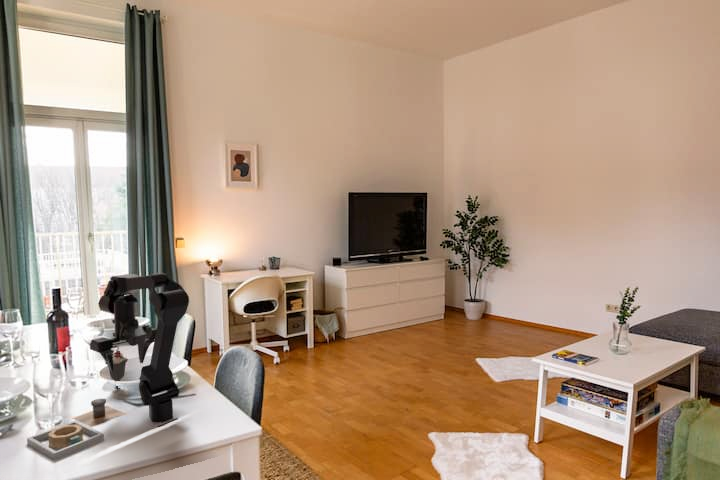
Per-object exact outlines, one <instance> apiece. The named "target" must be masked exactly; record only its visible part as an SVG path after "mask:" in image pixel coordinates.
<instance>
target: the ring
mask: <svg viewBox="0 0 720 480" xmlns="http://www.w3.org/2000/svg"><path fill="white" fill-rule="evenodd" d="M64 425H65V424H64ZM61 426H62V425H61ZM58 427H59V426H58ZM55 428H56V429H54V428H52V429H53V430H52V431H51V432H50V433H49V434H48V438H47V439H48V447H49V448H51V449H53V450H54V449H55V450H56V449H58V450H60V449H63V448H65V447H68V446H70V445H73V444H75V443H78V442H81V441H83V439H84V437H83V436H84V432H83V430H82V427H81V426H79V425H76V424H75V425H65V426H62V427H59V428H57V427H55Z"/></svg>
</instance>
